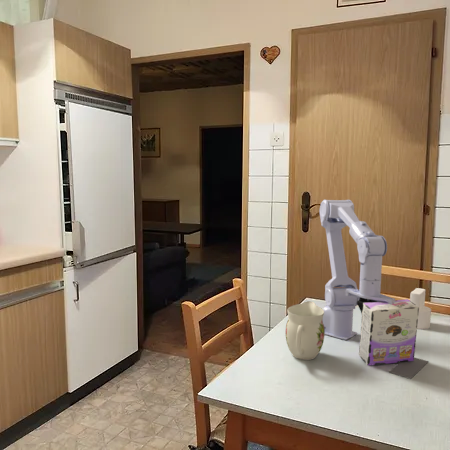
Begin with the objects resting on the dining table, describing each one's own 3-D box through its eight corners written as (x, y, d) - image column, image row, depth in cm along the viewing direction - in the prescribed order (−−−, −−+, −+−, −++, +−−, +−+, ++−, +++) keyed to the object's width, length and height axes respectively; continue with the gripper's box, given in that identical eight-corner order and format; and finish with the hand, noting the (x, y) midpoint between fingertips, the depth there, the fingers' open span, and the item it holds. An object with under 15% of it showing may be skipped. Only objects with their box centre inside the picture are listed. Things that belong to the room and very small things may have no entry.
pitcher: (277, 365, 123) (278, 316, 122) (291, 342, 140) (292, 299, 139) (318, 372, 120) (319, 321, 118) (327, 347, 136) (329, 303, 135)
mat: (389, 372, 120) (389, 371, 120) (407, 356, 131) (407, 355, 131) (410, 378, 116) (411, 377, 116) (428, 362, 127) (428, 361, 127)
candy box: (402, 351, 132) (408, 298, 127) (414, 361, 126) (420, 306, 122) (357, 355, 129) (362, 301, 125) (367, 366, 124) (372, 310, 120)
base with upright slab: (405, 318, 165) (407, 286, 163) (432, 324, 160) (434, 290, 158) (399, 325, 158) (401, 291, 156) (426, 331, 152) (429, 296, 151)
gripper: (401, 281, 126) (398, 328, 127) (356, 272, 137) (353, 316, 138) (388, 285, 121) (385, 334, 123) (342, 275, 132) (340, 320, 134)
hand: (368, 325), depth 130 cm, fingers closed
